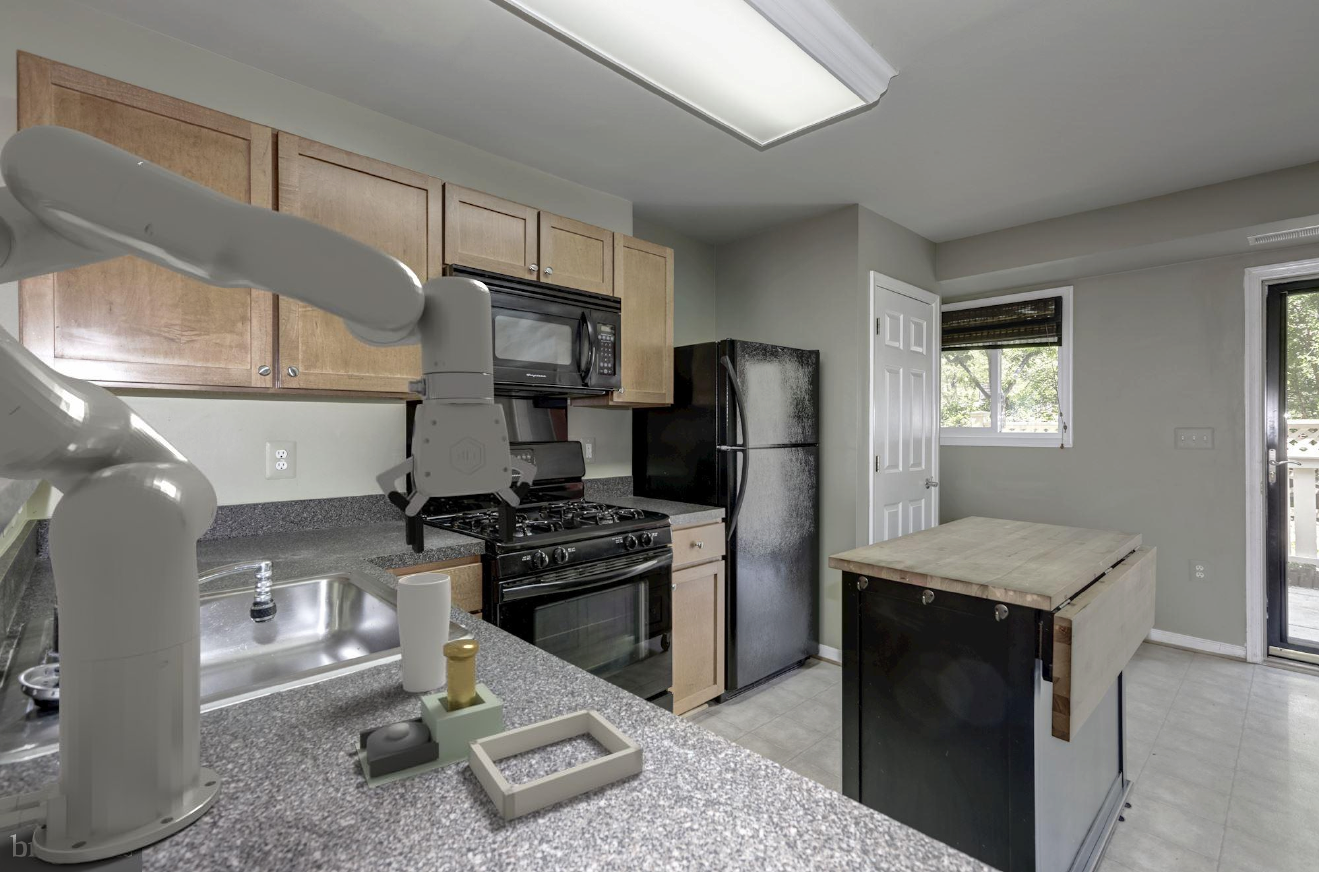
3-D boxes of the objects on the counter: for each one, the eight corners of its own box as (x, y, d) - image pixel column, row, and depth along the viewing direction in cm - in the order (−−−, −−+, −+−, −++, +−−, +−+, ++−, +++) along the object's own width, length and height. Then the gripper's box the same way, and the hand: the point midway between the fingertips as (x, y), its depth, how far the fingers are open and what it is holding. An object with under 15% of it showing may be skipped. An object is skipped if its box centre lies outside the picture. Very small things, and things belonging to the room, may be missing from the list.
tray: (505, 830, 52) (505, 795, 52) (468, 771, 61) (468, 742, 61) (642, 778, 60) (642, 748, 60) (591, 733, 69) (591, 707, 69)
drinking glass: (432, 702, 77) (432, 585, 77) (386, 698, 79) (385, 583, 79) (460, 681, 84) (460, 573, 84) (416, 677, 85) (416, 571, 85)
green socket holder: (369, 796, 57) (369, 745, 57) (354, 751, 65) (354, 706, 65) (512, 753, 65) (512, 708, 65) (483, 717, 73) (483, 677, 73)
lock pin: (448, 749, 64) (448, 653, 64) (439, 734, 67) (439, 643, 67) (483, 739, 66) (483, 646, 66) (473, 725, 69) (473, 636, 69)
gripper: (378, 388, 59) (384, 562, 59) (544, 390, 68) (549, 541, 69) (368, 393, 66) (373, 550, 66) (522, 395, 75) (526, 532, 75)
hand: (463, 545), depth 67 cm, fingers open, 9 cm apart
